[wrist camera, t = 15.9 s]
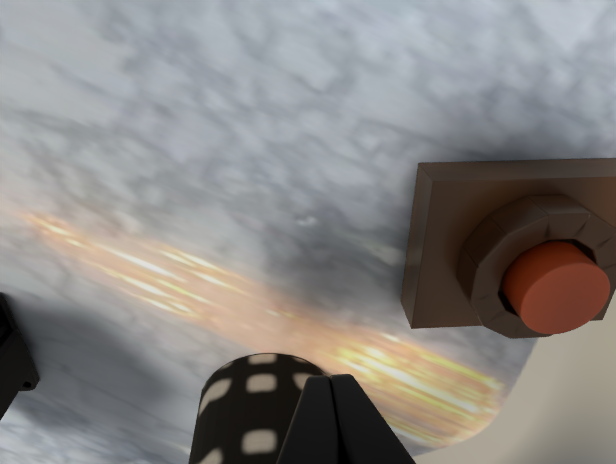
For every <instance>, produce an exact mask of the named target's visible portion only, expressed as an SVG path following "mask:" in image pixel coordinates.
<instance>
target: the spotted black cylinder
mask: <svg viewBox="0 0 616 464" xmlns="http://www.w3.org/2000/svg"><path fill="white" fill-rule="evenodd" d="M320 375H325V374H324V372H322V371H321V370H320V369H318V368H317V367H316V366H315V365H313V364H311V363H309V362H307V361H305V360H302V359H299V358H296V357H292V356H287V355H280V354H259V355H253V356H247V357H244V358H241V359H237V360H235V361H233V362H231V363H229V364H226V365H224V366H223V367H221V368H220V369H219V370H217V371H216V372H215V373H214V374H213V375H212V376H211V377H210V378H209V379H208V380H207V382H206V384H205V386H204V388H203V389H202V393H201V398H200V403H199V409H198V414H197V420H196V425H195V431H194V436H193V442H192V447H191V453H190V458H189V464H276V463H277V460H278V458H279V455H280V452H281V449H282V446H283V443H284V441H285V438H286V435H287V432H288V429H289V427H290V424H291V421H292V418H293V415H294V413H295V410H296V407H297V404H298V401H299V399H300V396H301V393H302V390H303V387H304V385H305V382H306V379H307V378H308V377H309V376H320Z"/></svg>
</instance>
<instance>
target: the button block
mask: <svg viewBox="0 0 616 464" xmlns="http://www.w3.org/2000/svg"><path fill="white" fill-rule="evenodd" d="M551 241H561V242H566V243H570V244H572V245H574V246H576V247H577V248H578V249H579V250H581V251H582V252H583V253H584V254H585V255H586V256H587V257H588V258H590V259H591V260H592V261H593V262H594V263H595V264H596V265H597V266H599V267H600V268H601V269H602V270H603V271H604V272H605V273H606V275H607V276H608V279H609V282H610V293H609V297H608V299H607V301H606V303H605V305H604V306H603V308H602V309H601V310H600V312H599V313H598V314H597V315H596V316H595V317H594V318H592V319H591V320H590V321H592V320H603V318H604V315H605V313H606V310H607V308H608V306H609V303H610V301H611V299H612V296H613V294H614V291H615V289H616V158H600V159H560V160H520V161H479V162H439V163H419V164H418V171H417V178H416V186H415V194H414V202H413V210H412V217H411V225H410V233H409V241H408V249H407V256H406V264H405V272H404V280H403V288H402V295H401V303H402V306H403V309H404V311H405V314H406V316H407V319H408V321H409V324H410V327H411V329H417V328H439V327H461V326H484V327H486V328H489V329H491V330H493V331H495V332H497V333H499V334H502V335H504V336H506V337H508V338H534V337H547V336H551V335H553V334H543V333H539V332H536V331H534V330H532V329H530V328H529V327H527V326H526V325H525V323H524V322H523V321H522V319H521V318H520V317H519V315H518V314H517V313H516V311H515V310H514V308H513V307H512V306H511V304H510V303H509V302H508V300H507V299H506V297H505V295H504V293H503V288H502V283H503V277H504V274H505V272H506V270H507V268H508V267H509V265H510V264H511V263H512V262H513V261H514V260H515V259H516V258H517V257H518V256H519V255H520V254H521V253H522V252H524V251H526V250H528V249H530V248H532V247H534V246H536V245H538V244H541V243H545V242H551Z"/></svg>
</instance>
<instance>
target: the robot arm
mask: <svg viewBox="0 0 616 464" xmlns="http://www.w3.org/2000/svg"><path fill="white" fill-rule="evenodd" d="M38 383H39V377H38V374H37V372H36V370H35V367H34V364H33V362H32V359H31V357H30V355H29V352H28V350H27V348H26V345H25V343H24V341H23V338H22V336H21V334H20V332H19V330H18V327H17V325H16V323H15V320H14V318H13V316H12V313H11V311H10V309H9V306H8V304H7V302H6V300H5V299H4V298H3V297H2V296H1V295H0V420H1V419H2V417H3V416H4V414H5V412H6V411H7V409H8V408H9V406H10V404H11V403H12V401H13V400H14V398H15V396H16V395H17V393H18V392H19V391H30V390H33V389H35V388H36V386H37V384H38ZM276 464H416V463H415V461H414V460H413V459H412V457H411V456H410V454H409V453H408V452H407V450H406V449H405V448H404V446H403V445H402V443H401V442H400V441H399V439H398V438H397V436H396V435H395V434H394V432H393V431H392V429H391V428H390V427H389V425H388V424H387V423H386V421H385V420H384V418H383V417H382V416H381V414H380V413H379V411H378V410H377V409H376V407H375V406H374V405H373V403H372V402H371V400H370V399H369V398H368V396H367V395H366V393H365V392H364V391H363V389H362V388H361V386H360V385H359V384H358V382H357V381H356V380H355V378H354V377H353V376H352V375H350V374H340V375H332V376H331V377H330V378H329V377H328V376H327V375H320V376H309V377H308V378H307V379H306V382H305V385H304V387H303V390H302V393H301V396H300V399H299V401H298V404H297V407H296V410H295V413H294V415H293V418H292V421H291V424H290V427H289V429H288V432H287V435H286V438H285V441H284V443H283V446H282V449H281V452H280V455H279V458H278V460H277V463H276Z"/></svg>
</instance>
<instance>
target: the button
mask: <svg viewBox="0 0 616 464" xmlns="http://www.w3.org/2000/svg"><path fill="white" fill-rule="evenodd" d="M502 288H503V293H504V295H505V297H506V299H507V300H508V302H509V303H510V304H511V306H512V307H513V308H514V310H515V311H516V313H517V314H518V315H519V317H520V318H521V319H522V321H523V322H524V323H525V325H526V326H527V327H529V328H530V329H532V330H534V331H536V332H539V333H543V334H559V333H564V332H568V331H571V330H573V329H576V328H578V327H580V326H582V325H584V324H585V323H587V322H588V321H590V320H591V319H592V318H594V317H595V316H596V315H597V314H598V313H599V312H600V310H601V309H602V308H603V306H604V305H605V303H606V301H607V299H608V297H609V293H610V282H609V279H608V276H607V275H606V273H605V272H604V271H603V270H602V269H601V268H600V267H599V266H597V265H596V264H595V263H594V262H593V261H592V260H591V259H590V258H588V257H587V256H586V255H585V254H584V253H583V252H582V251H581V250H579V249H578V248H577V247H576V246H574V245H572V244H570V243H566V242H561V241H551V242H545V243H541V244H538V245H536V246H534V247H532V248H530V249H528V250H526V251H524V252H522V253H521V254H520V255H519V256H518V257H517V258H516V259H515V260H514V261H513V262H512V263H511V264H510V265H509V267H508V268H507V270H506V272H505V274H504V277H503V283H502Z"/></svg>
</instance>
